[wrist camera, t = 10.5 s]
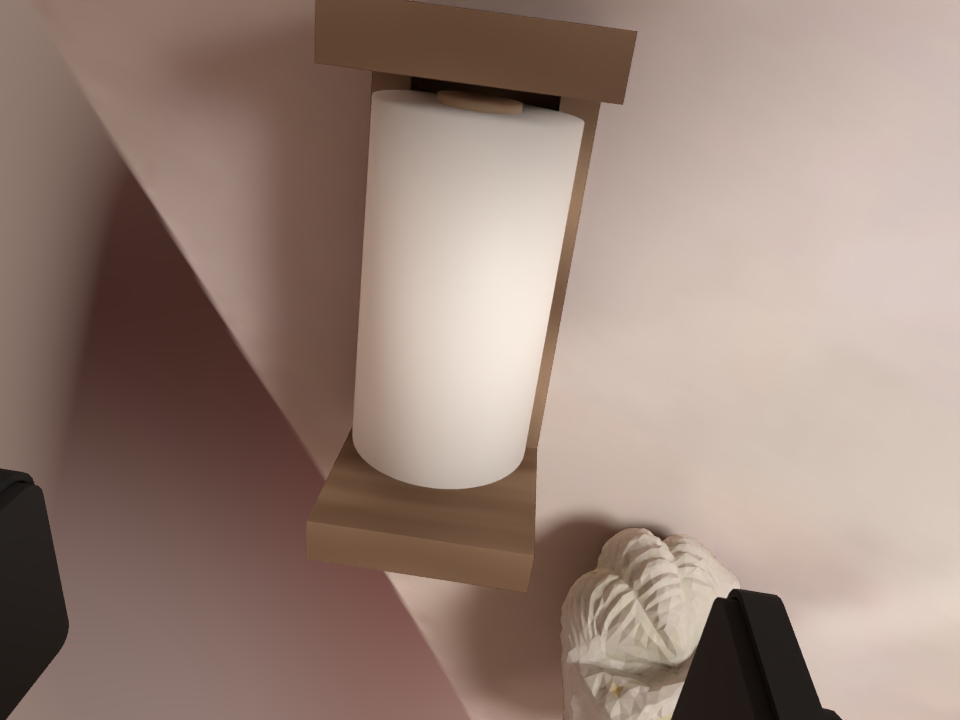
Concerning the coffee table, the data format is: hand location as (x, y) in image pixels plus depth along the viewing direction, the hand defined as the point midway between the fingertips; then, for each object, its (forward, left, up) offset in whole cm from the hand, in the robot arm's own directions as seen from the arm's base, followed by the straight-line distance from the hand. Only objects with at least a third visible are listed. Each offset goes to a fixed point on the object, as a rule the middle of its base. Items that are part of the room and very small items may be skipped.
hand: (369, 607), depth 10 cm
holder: (0, 0, -19) cm, 19 cm away
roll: (0, 0, -17) cm, 17 cm away
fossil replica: (+16, +10, -19) cm, 27 cm away
